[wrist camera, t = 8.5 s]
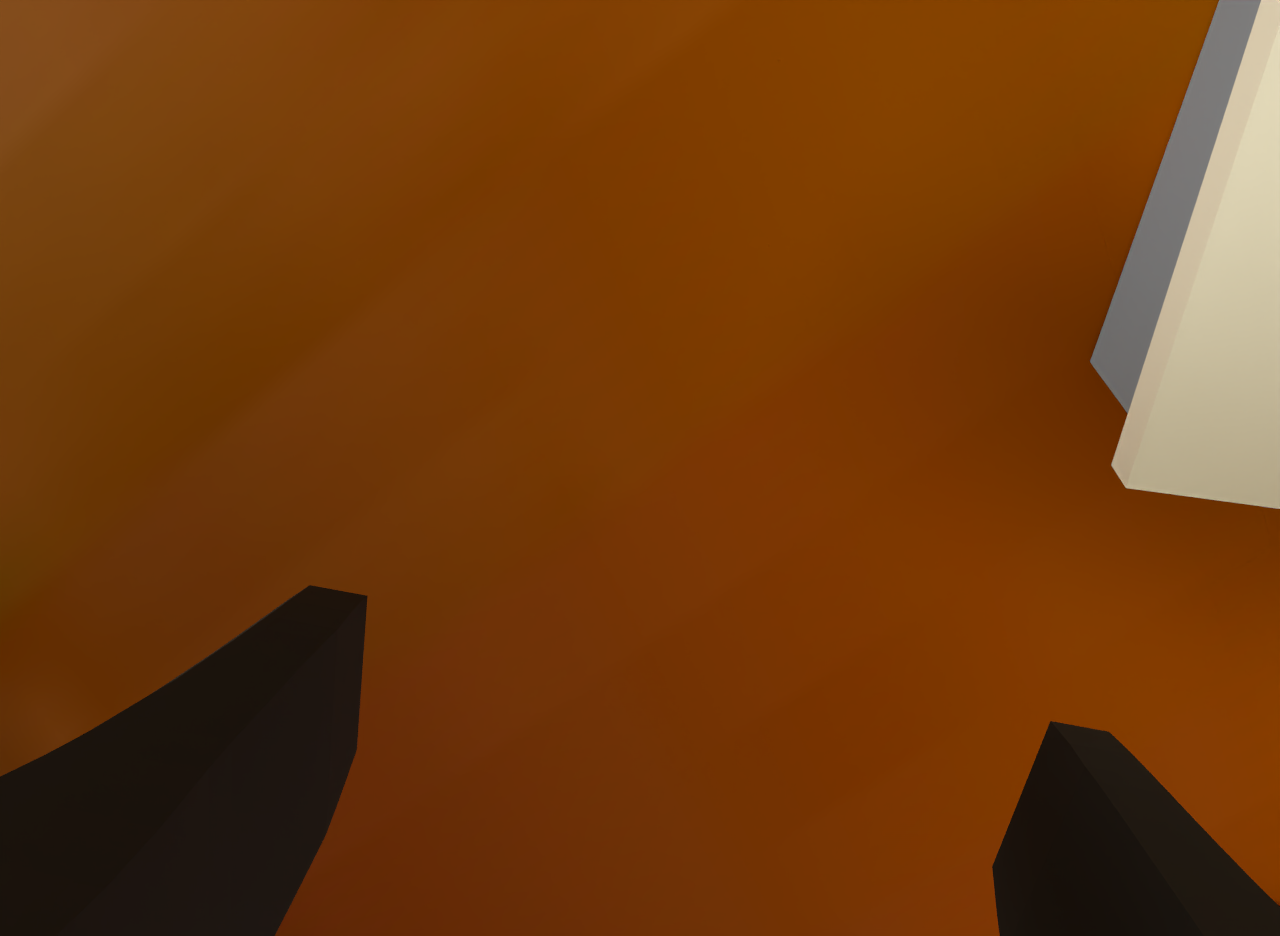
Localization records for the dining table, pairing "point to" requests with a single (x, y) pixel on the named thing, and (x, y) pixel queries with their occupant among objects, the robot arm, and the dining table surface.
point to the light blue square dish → (1171, 203)
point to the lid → (1221, 314)
